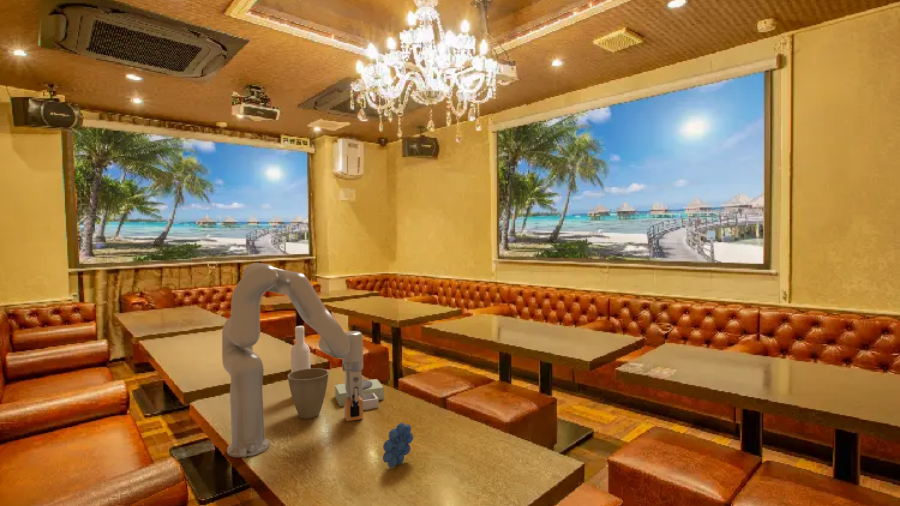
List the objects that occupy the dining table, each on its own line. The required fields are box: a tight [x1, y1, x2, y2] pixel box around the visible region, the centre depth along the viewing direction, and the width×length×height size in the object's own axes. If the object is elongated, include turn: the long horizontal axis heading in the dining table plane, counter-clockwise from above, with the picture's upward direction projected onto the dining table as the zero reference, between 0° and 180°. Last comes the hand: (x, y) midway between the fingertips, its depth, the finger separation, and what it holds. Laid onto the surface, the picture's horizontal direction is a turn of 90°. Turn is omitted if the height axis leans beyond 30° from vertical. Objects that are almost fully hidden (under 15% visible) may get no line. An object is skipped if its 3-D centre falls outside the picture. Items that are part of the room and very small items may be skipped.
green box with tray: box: [334, 378, 385, 411], centre depth 190 cm, size 20×18×6 cm
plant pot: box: [287, 367, 329, 420], centre depth 176 cm, size 15×15×16 cm
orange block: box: [343, 396, 364, 422], centre depth 172 cm, size 4×6×7 cm
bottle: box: [290, 325, 311, 373], centre depth 196 cm, size 8×8×30 cm
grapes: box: [382, 422, 414, 468], centre depth 138 cm, size 12×7×12 cm, turn 140°
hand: (353, 413), depth 172 cm, fingers closed on orange block, 4 cm apart
